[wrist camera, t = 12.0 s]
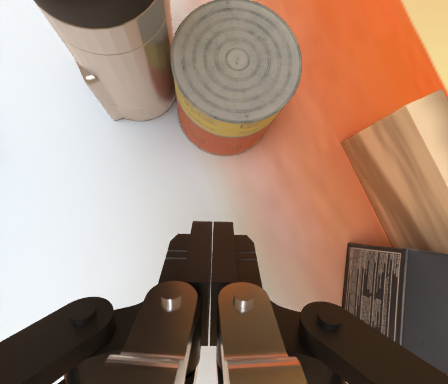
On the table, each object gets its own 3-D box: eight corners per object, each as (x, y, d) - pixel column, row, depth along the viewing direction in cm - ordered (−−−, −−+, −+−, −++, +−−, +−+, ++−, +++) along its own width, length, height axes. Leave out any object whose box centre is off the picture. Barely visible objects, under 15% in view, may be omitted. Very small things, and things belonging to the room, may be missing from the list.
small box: (390, 337, 37) (468, 381, 26) (338, 331, 36) (396, 373, 26) (396, 248, 38) (472, 257, 28) (346, 241, 38) (405, 247, 27)
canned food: (282, 137, 38) (322, 97, 26) (198, 169, 37) (200, 142, 25) (247, 56, 39) (271, -18, 27) (164, 85, 38) (150, 19, 26)
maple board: (420, 303, 38) (525, 338, 26) (340, 142, 39) (405, 105, 27) (447, 288, 38) (561, 316, 26) (367, 130, 39) (442, 88, 28)
